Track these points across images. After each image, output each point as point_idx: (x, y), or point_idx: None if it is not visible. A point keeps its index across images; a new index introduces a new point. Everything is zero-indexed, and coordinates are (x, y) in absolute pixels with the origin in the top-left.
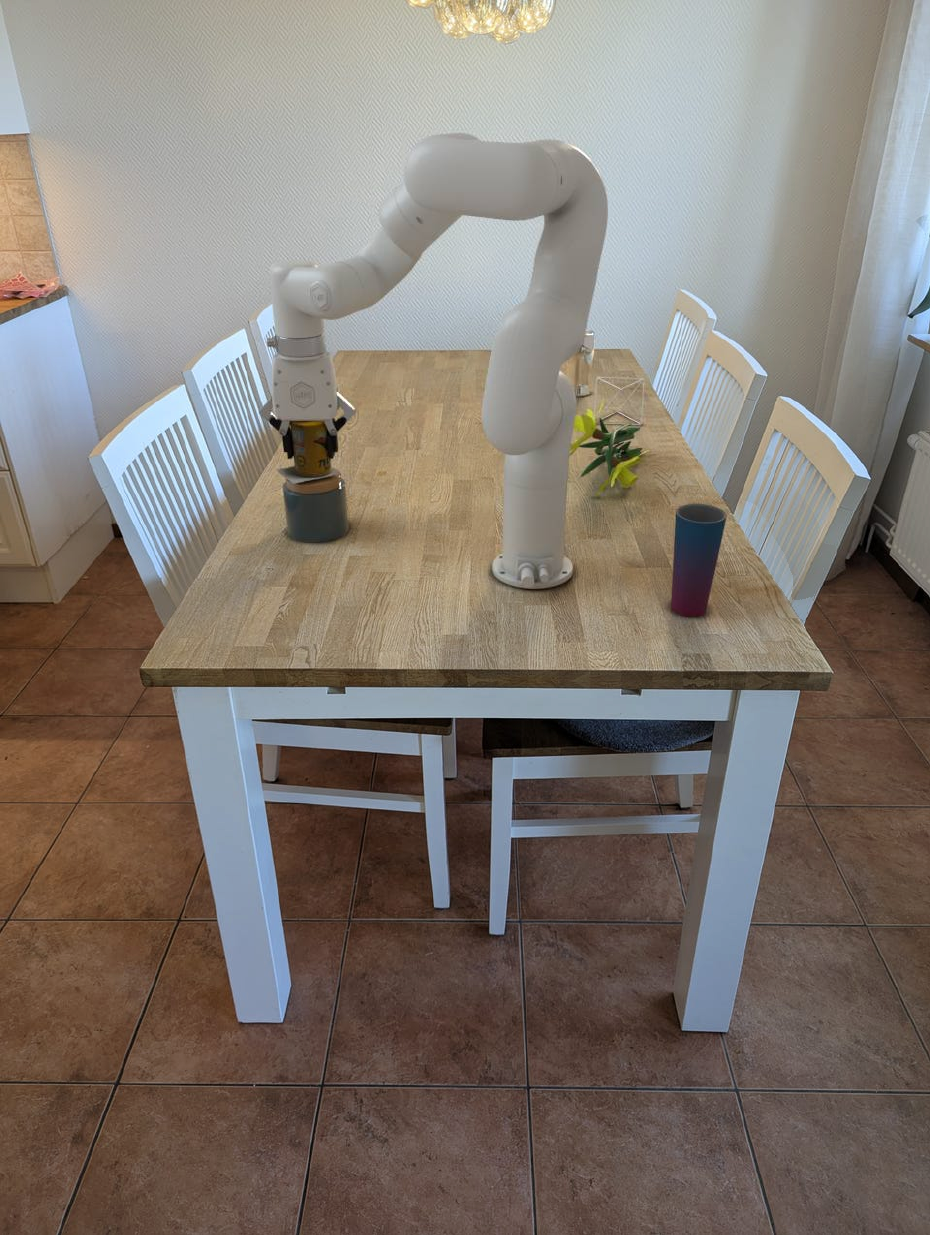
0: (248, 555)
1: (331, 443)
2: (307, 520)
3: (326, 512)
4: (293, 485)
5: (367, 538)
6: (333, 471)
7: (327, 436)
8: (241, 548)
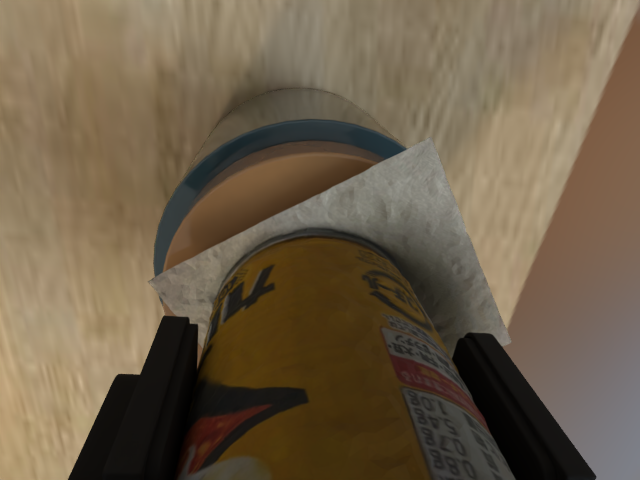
0: (542, 7)
1: (129, 406)
2: (336, 103)
3: (251, 114)
4: None
5: (112, 104)
6: (198, 310)
7: (150, 476)
8: (557, 74)
